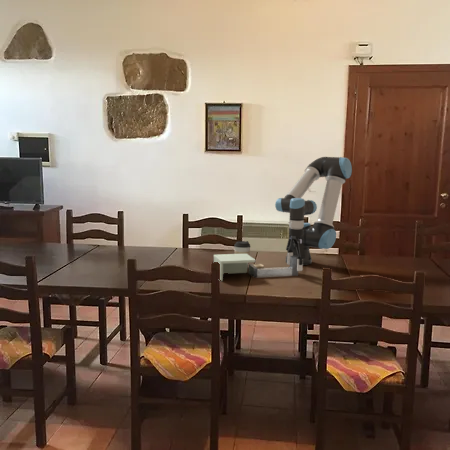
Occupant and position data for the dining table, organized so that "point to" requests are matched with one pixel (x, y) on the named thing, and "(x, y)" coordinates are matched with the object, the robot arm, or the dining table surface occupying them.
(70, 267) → the dining table surface
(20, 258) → the dining table surface
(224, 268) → the shelf nook
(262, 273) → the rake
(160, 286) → the dining table surface
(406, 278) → the dining table surface
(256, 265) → the block
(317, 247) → the robot arm
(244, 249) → the coffee cup
